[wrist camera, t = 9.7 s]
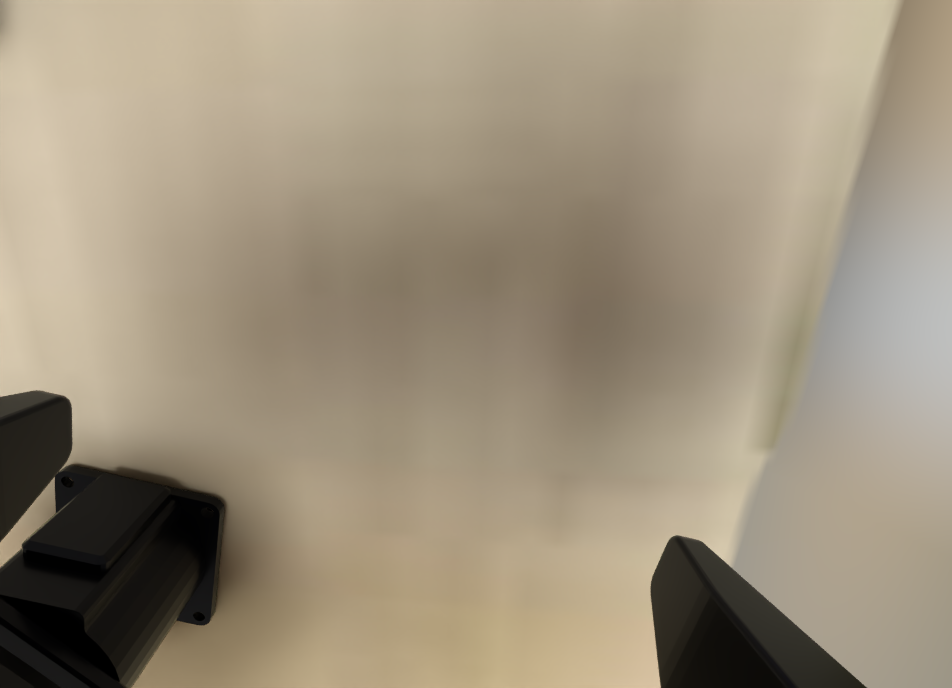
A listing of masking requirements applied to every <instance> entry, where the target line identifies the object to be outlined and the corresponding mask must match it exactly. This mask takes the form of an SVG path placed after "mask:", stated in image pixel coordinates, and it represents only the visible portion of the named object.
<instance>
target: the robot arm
mask: <svg viewBox="0 0 952 688" xmlns="http://www.w3.org/2000/svg"><path fill="white" fill-rule="evenodd" d="M71 450H72V407H71V403H70V401H69V399H68V398H66V397H65V396H62V395H58V394H53V393H49V392H44V391H37V390H36V391H30V392H24V393H19V394H14V395H8V396H3V397H0V542H1V541H2V540H3V538H4V537H5V536H6V535H7V534H8V533H9V531H10V530H11V529H12V528H13V527H14V525H15V524H16V523H17V522H18V520H19V519H20V518H21V517H22V516H23V514H24V513H25V512H26V511H27V509H28V508H29V507H30V506H31V505H32V503H33V502H34V501H35V500H36V498H37V497H38V496H39V495H40V494H41V492H42V491H43V490H44V489H45V488H46V486H47V485H48V484H49V483H50V481H51V480H52V479H53V478H54V477H55V499H56V514H55V515H54V516H53V517H52V518H50V519H49V520H48V521H47V522H46V523H45V524H43V525H42V526H41V527H40V528H39V529H38V530H37V531H35V532H34V533H33V534H32V535H31V536H30V537H29V538H27V539H26V540H25V541H24V542H23V544H22V549H21V550H20V551H18V552H17V553H16V554H15V555H14V556H13V557H12V558H11V559H9V560H8V561H7V562H6V563H5V564H4V565H3V566H1V567H0V688H132V686H133V685H134V683H135V682H136V680H137V679H138V677H139V676H140V674H141V673H142V671H143V670H144V668H145V667H146V665H147V664H148V662H149V661H150V659H151V658H152V656H153V655H154V653H155V652H156V650H157V649H158V647H159V646H160V644H161V643H162V641H163V640H164V638H165V636H166V635H167V633H168V632H169V630H170V629H171V627H172V626H173V624H174V623H175V621H176V620H177V621H181V622H186V623H191V624H195V625H206V624H208V623H209V622H210V620H211V619H212V617H213V615H214V613H215V606H216V595H217V584H218V573H219V563H220V552H221V541H222V531H223V520H224V505H223V503H222V502H221V501H220V500H219V499H218V498H215V497H212V496H208V495H204V494H199V493H195V492H190V491H186V490H181V489H177V488H172V487H168V486H163V485H159V484H154V483H150V482H145V481H141V480H136V479H132V478H127V477H123V476H118V475H114V474H109V473H105V472H100V471H96V470H91V469H87V468H82V467H78V466H67V467H65V468H63V469H62V470H61V471H60V472H59V470H60V469H61V468H62V467H63V466H64V464H65V463H66V461H67V460H68V458H69V456H70V453H71ZM55 475H56V476H55ZM69 477H70V478H71V479H72V480H73V481H72V480H71V479H70V478H69ZM207 508H210V509H211V510H212V511H213V512H211V511H208V509H207ZM651 602H652V611H653V621H654V630H655V639H656V649H657V658H658V667H659V677H660V684H661V688H867V687H865V686H864V685H863V684H862V683H861V682H860V681H859V680H858V679H856V678H855V677H854V676H853V675H852V674H851V673H850V672H848V671H847V670H846V669H845V668H844V667H842V665H841V664H839V663H838V662H837V661H836V660H835V659H834V658H833V657H831V656H830V655H829V654H828V653H827V652H826V651H825V650H824V649H822V648H821V647H820V646H819V645H818V644H817V643H815V641H813V640H812V639H811V638H810V637H809V636H808V635H807V634H805V633H804V632H803V631H802V630H801V629H800V628H799V627H798V626H796V625H795V624H794V623H793V622H792V621H791V620H790V619H788V618H787V617H786V616H785V615H784V614H783V613H782V612H781V611H779V610H778V609H777V608H776V607H775V606H774V605H773V604H772V603H771V602H769V601H768V600H767V599H766V598H765V597H764V596H763V595H761V594H760V593H759V592H758V591H757V590H756V589H755V588H754V587H752V586H751V585H750V584H749V583H748V582H747V581H746V580H744V579H743V578H742V577H741V576H740V575H739V574H738V573H737V572H736V571H734V570H733V569H732V568H731V567H730V566H729V565H728V564H726V563H725V562H724V561H723V560H722V559H721V558H720V557H719V556H717V555H716V554H715V553H714V552H713V551H712V550H711V549H710V548H708V547H707V546H706V545H705V544H704V543H703V542H701V541H699V540H696V539H692V538H687V537H682V536H678V535H676V536H673V537H671V538H670V540H669V541H668V543H667V545H666V547H665V549H664V552H663V554H662V556H661V558H660V561H659V563H658V565H657V568H656V570H655V572H654V574H653V577H652V581H651ZM200 612H201V613H200Z"/></svg>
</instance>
